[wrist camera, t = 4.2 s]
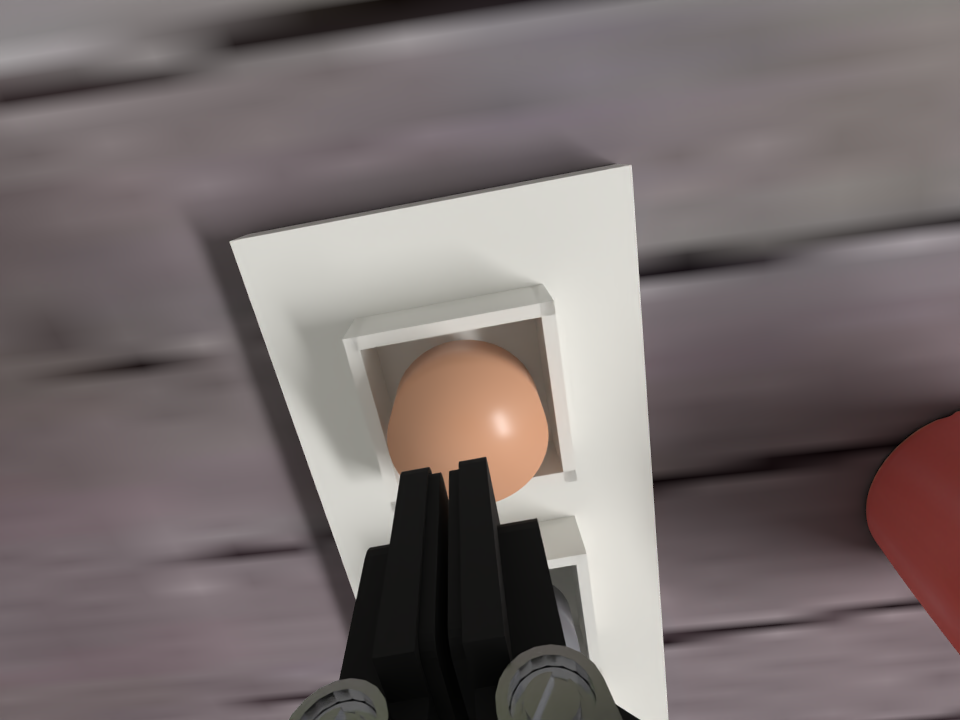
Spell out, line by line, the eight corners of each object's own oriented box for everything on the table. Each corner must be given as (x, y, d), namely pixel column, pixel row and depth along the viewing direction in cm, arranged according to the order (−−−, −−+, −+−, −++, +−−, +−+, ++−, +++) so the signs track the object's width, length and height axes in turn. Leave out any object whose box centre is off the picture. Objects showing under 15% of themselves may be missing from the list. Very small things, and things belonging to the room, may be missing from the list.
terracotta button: (527, 327, 15) (537, 351, 13) (546, 455, 17) (557, 492, 15) (379, 354, 15) (368, 382, 14) (412, 478, 17) (407, 518, 15)
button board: (617, 164, 17) (656, 166, 13) (662, 762, 28) (690, 844, 24) (248, 234, 17) (198, 253, 14) (438, 797, 28) (436, 882, 25)
